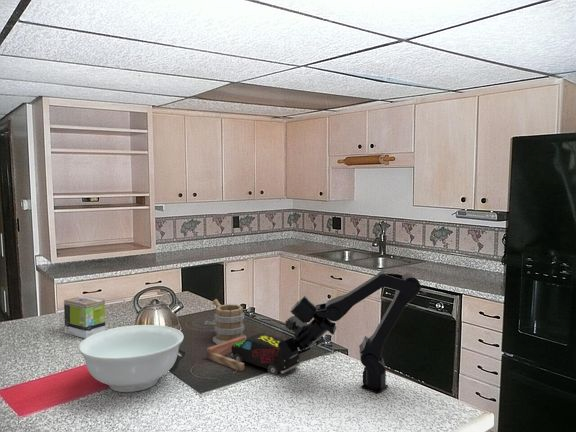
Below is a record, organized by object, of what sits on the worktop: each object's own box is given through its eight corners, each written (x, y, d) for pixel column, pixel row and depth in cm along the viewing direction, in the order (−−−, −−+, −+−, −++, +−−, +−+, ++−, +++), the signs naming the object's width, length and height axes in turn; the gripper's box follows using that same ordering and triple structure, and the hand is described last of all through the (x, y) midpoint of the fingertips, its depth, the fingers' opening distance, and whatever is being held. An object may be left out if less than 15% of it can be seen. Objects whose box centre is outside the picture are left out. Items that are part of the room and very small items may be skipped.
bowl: (79, 371, 165) (78, 330, 163) (174, 358, 177) (174, 319, 176) (79, 414, 135) (78, 364, 134) (193, 394, 148) (193, 348, 147)
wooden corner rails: (275, 356, 179) (275, 346, 179) (241, 371, 165) (241, 360, 165) (241, 345, 191) (241, 335, 190) (206, 358, 177) (206, 348, 177)
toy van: (249, 352, 184) (249, 327, 183) (301, 368, 168) (301, 341, 168) (229, 360, 175) (229, 334, 174) (282, 378, 160) (282, 349, 159)
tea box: (106, 333, 205) (105, 299, 204) (85, 339, 196) (84, 304, 195) (84, 327, 213) (84, 294, 212) (63, 333, 204) (62, 299, 203)
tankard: (250, 342, 195) (250, 306, 194) (222, 348, 188) (222, 310, 187) (228, 329, 211) (228, 295, 210) (201, 334, 204) (201, 299, 203)
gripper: (317, 304, 165) (292, 328, 173) (282, 316, 151) (257, 342, 159) (336, 331, 161) (309, 355, 169) (302, 346, 147) (274, 371, 154)
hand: (288, 355), depth 163 cm, fingers closed, pressing on toy van
